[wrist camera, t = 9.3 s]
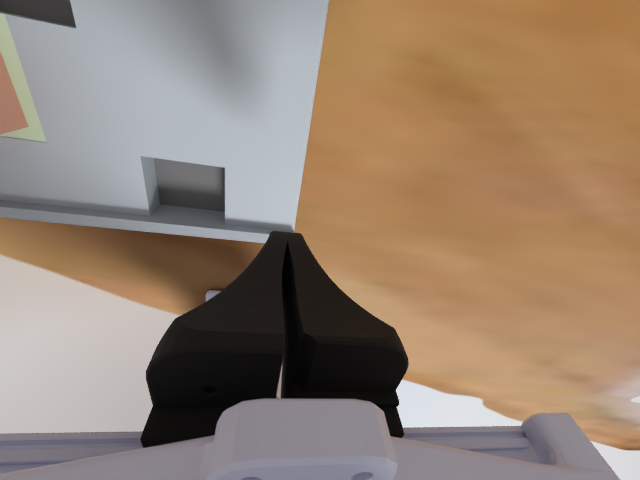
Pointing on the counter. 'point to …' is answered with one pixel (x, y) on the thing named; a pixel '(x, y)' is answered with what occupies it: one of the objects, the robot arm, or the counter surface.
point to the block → (9, 103)
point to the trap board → (160, 113)
